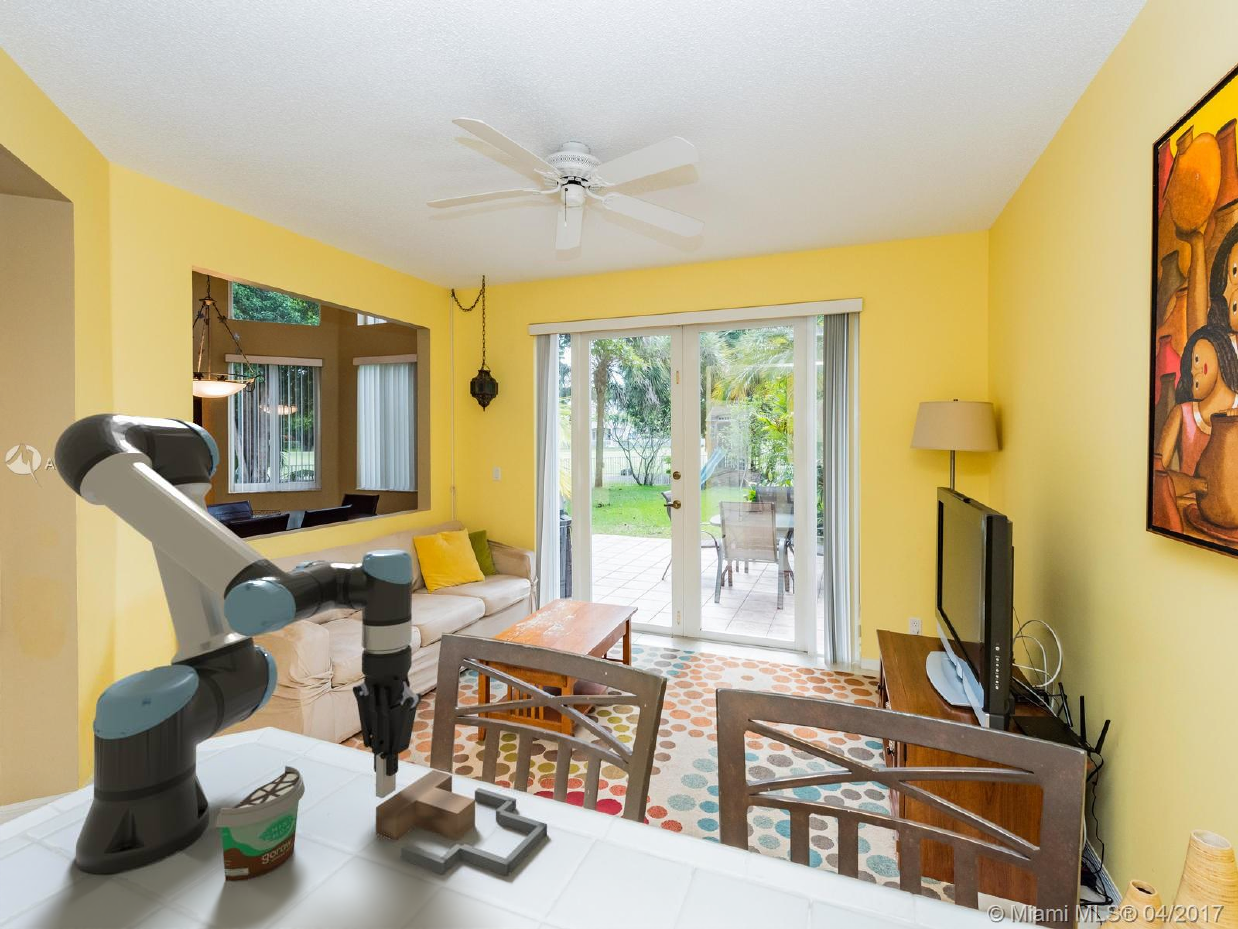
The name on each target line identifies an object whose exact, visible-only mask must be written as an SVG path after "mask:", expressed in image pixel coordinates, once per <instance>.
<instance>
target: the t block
mask: <svg viewBox="0 0 1238 929" xmlns="http://www.w3.org/2000/svg"><path fill="white" fill-rule="evenodd" d="M416 827H417V828H420V829H422V830H426V831H429V832H430V833H433V834H436V835H439V836H442V837H445V838H448V839H451V840H453V841H456V842H458V841H459V840H460V839H461V838H463V837H464V836H465V835H466V834H467V833H469V832H470V831H471V830H473V828H474V827H476V800H475V798H471V797H469V796H465V795H462V794H461V795H460V794H459V793H458V794H457V793H454V792H453V775H452V774H450V773H449V774H448V773H446V772H441V771H439V770H435V769H432V770H431V771H429V772H428V773H426V774H425V775H422V777H420V778H418V779H417V780H415V781H414V782H413V783H410V784H409V785H408V786H406V787H404V788H403V789H401V790H400V791H399V792H397V793H395V794H394V795H392V796H391V797H390V798H388V799H386V800H385V801H384V802H382V803H380V804H379V805H377V806H375V834H376V835H377V834H379V835H378V836H380V835H382V836H381V837H383V836H385V837H387V838H386V839H388V838H390V839H389V840H391V841H393V840H394V842H397V841H398V840H400V839H401V838H402V837H403V836H405V835H407V834H408V833H409V832H410V831H412V830H413V829H414V828H416ZM385 837H384V838H385ZM399 838H400V839H399Z"/></svg>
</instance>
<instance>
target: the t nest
mask: <svg viewBox="0 0 1238 929" xmlns="http://www.w3.org/2000/svg"><path fill="white" fill-rule="evenodd" d="M474 799H475V802H476V801H477V802H480V803H484V804H486V805H490V806H493V807H496V808H497V809H496V810H495V821H497V822H498V824H499V825H502V826H504V827H508V828H511V829H514V830H517V831H520V832H523V833H526V834H528V835H527V836H526V837H525V838H524V839H523V840H522V841H521V842H520V843H519V844H518V845H517V846H516V847H515V848H514V849H513V850H512V851H511V852H510V853H508V855H507V856H506V857H502V856H500V855H497V854H495V853H491V852H488V851H487V850H486V851H485V850H482V849H481V848H477V847H474V846H472V845H470V844H469V845H468V844H466V843H464V844H463V845H460V844H458V843H455V845H454V846H453V847H452V848H450V849H449V850H448V851H447V852H446V853H445V854H443V855H442V856H441V855H438V854H436V853H433V852H431V851H428V850H425V849H423V848H419V847H418V846H414V845H412V844H409V843H405V844H403V845H402V846H401V847H400V859H402V860H404V861H407V862H410V863H411V864H414V865H417V866H419V867H422V868H424V869H427V870H430V871H433V872H435V873H438V874H440V875H444V874H445V873H446V872H447V871H448V870H449V869H451V867H452V866H454V865H455V864H456V863H457V862H458V861H459V860H462V861H463V862H464V861H465V862H467V863H470V864H472V865H475V866H478V867H481V868H484V869H486V870H489V871H491V872H494V873H497V874H499V875H502V876H506V877H508V876H509V875H510V874H511V873H512V872H513V870H515V868H517V866H518V865H519V864H521V862H522V861H523V860H524V859H525V858H526V857H527V856H528V855H529V854H530V853H531V852H532V851H533V850H534V849H535V848H536V846H538V844H539V843H541V841H542V840H543V839H544V838H545V837H546V835H548V823H544V822H542V821H538V820H535V819H532V818H528V817H526V816H522V815H520V814H515V813H513V812H514V811H515V810H517V798H514V797H511V796H508V795H505V794H502V793H497V792H494V791H490V790H487V789H483V788H480V787H478V788H477V789H475V790H474Z"/></svg>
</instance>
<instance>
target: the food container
mask: <svg viewBox="0 0 1238 929" xmlns="http://www.w3.org/2000/svg"><path fill="white" fill-rule="evenodd" d="M305 789H306V788H305V784H304V779H303V776H302V775H301V773H300V771H299V770H298V769H296V768H295V767H293V766H290V765H289V766H288V765H285V767H284V773H282V774H281V775H279V776H278V777H277V778H275V779H274V780H271V782H268V783H266V784H264V785H262V786H259V787H258V788H256V789H255V790H253V791H252V792H251V793H250V794H248V796H246V797H245V798H243V799H242V801H240V802H238V804H236V805H235V806H233V807H232V808H223V807H222V808H219V814H218V815H217V821H216V827H217V828H220V830H221V833H220V834H221V843H222V852H223V853H222V856H223V867H224V868H223V869H224V880H225V882H242V881H247V880H248V879H249V880H252V879H257V878H259V877H262V876H264V875H266V874H268V873H271V872H273V871H275V870H276V869H278V868H280V867H282V866H283V865H285V863H286V862H287V861H289V859H290V858H291V856H292V855H293V853H294V850H295V840H296V832H297V831H296V830H297V822H298V812H299V803H300V800H301V799H302V797H303V796H304V794H305Z"/></svg>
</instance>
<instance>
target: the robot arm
mask: <svg viewBox="0 0 1238 929" xmlns="http://www.w3.org/2000/svg"><path fill="white" fill-rule="evenodd" d="M219 452H220V451H219V448H218V444H217V443H216V441H215V439H214V437H213V436H212V435H211V434H210V433H209V432H208V431H207V430H206V429H205V428H203V427H201V426H199V425H198V424H197V423H196V424H195V423H193V422H190V421H185V420H182V419H178V418H169V417H165V418H159V417H158V418H157V417H151V416H150V417H148V416H139V415H138V416H136V415H126V414H119V413H118V414H117V413H100V414H94V415H89V416H86V417H82V418H81V419H78V420H77V421H76V422H73V423H72V424H70V425H69V426H68V427H67V428H66V429H65V430H64V431H63V432H62V433H61V434H60V436H59V437H58V440H57V442H56V444H55V448H54V454H53V455H54V456H53V457H54V464H55V467H56V470H57V471H58V474H59V476H60V477H61V479H62V480H63V481H64V483H65V484H66V485H67V486H68V487H69V489H71V490H72V491H73V492H74V493H75V494H76V495H78V496H79V497H80V498H81V499H83V500H85V501H86V502H87V503H88V504H91V505H93V506H94V505H95V506H105V507H106V508H107V509H109V510H110V511H112V513H113V514H114V515H115V514H116V516H118V517H119V518H120V519H122V520H123V521H124V522H125V523H126V524H128V525H129V526H130V527H131V528H132V529H133V530H135V531H136V532H137V533H139V534H140V535H141V536H143V537H144V538H145V539H146V540H148V541H149V542H150V543H151V545H152V549H153V554H154V558H155V561H156V564H157V568H158V571H159V572H158V573H159V575H160V579H161V584H162V587H163V591H164V596H165V599H166V602H167V605H168V610H169V614H170V618H171V622H172V626H173V628H174V633H175V637H176V640H177V641H176V642H177V644H178V650H177V651H176V653H175V654H174V655H173V657H172V658H171V659H170V664H169V665H163V666H156V667H153V668H152V669H150V670H141V671H138V672H136V673H133V674H130V675H128V676H125V677H124V678H121V679H119V680H118V681H116V682H114V683H113V684H111V685H109V686H108V687H106V689H105V690H103V692H102V693H101V694H100V695H99V697H98V699H97V701H96V706H95V717H94V719H93V723H92V730H93V734H94V735H93V744H94V745H93V747H94V748H93V752H94V753H93V756H94V757H93V759H94V760H93V761H94V762H93V763H94V764H93V798H92V803H91V806H90V807H89V810H88V812H87V816H86V818H85V820H84V823H83V825H82V828H81V831H80V833H79V836H78V837H77V841H76V845H75V864H76V866H77V868H78V869H80V871H83V872H85V873H90V874H99V875H100V874H101V875H103V874H114V873H120V872H121V873H122V872H125V871H126V872H127V871H130V870H134V869H135V870H136V869H139V868H142V867H144V866H149V865H151V864H154V863H156V862H159V861H161V860H163V859H164V860H165V859H166V858H168V857H170V856H173V855H174V854H176V853H178V852H180V851H182V850H183V849H185V848H187V847H188V846H189V845H191V844H192V843H194V842H195V841H196V840H197V839H198V838H200V837H201V836H202V835H203V833H204V832H205V831H206V829H207V828H208V826H209V824H210V805H209V801H208V799H207V797H206V794H205V792H204V789H203V786H202V784H201V781H200V780H199V778H198V775H197V746H198V745H199V744H201V743H202V742H203V743H204V742H205V741H206V740H209V739H211V738H212V737H214V736H216V735H217V734H219V733H222V731H224V730H226V729H228V728H231V727H232V726H234V725H236V724H238V723H241V722H244V721H247V719H249V718H251V716H253V715H254V714H255V713H257V712H259V711H260V710H261V709H263V708H264V707H265V706H266V705H267V704H268V703H269V702H270V700H271V698H272V696H273V694H274V693H275V691H276V689H277V686H278V679H279V676H278V673H279V671H278V667H277V666H278V665H277V664H276V660H275V658H274V657H273V655H272V653H270V651H266V648H264V647H262V646H260V645H257V644H255V642H254V639H253V637H257V636H261V635H265V634H268V633H274V632H277V631H280V630H282V629H284V628H286V627H287V626H291V625H292V624H294V623H297V622H300V621H302V620H305V619H308V618H311V617H315V616H316V615H320V614H322V613H324V612H325V613H326V612H328V611H330V610H353V611H354V610H356V611H357V610H358V611H359V610H361V617H362V618H361V619H362V621H361V622H362V626H361V647H362V648H363V651H362V652H361V673H362V674H363V675H364V678H363V679H364V680H363V681H362V683H360V684H357V685H355V686H353V687H352V692H353V694H354V697H355V700H356V703H357V708H358V711H357V712H358V715H359V722H360V723H359V724H360V728H361V729H360V730H361V735H362V740H363V741H362V743H363V746H364V747H365V748H370V749H371V752H372V754H373V770H374V773H375V797H377V798H380V799H384V798H385V797H387V796H389V795H390V794H392V793H393V792H395V791H396V790H397V789H396V788H397V787H396V786H397V785H396V784H397V782H396V780H397V777H396V776H397V775H396V774H397V773H398V771H399V754H401V753H403V752H405V751H406V750H408V749H409V748H410V743H411V738H412V734H413V728H414V723H415V718H416V713H417V709H418V706H419V704H420V702H421V701H422V698H423V696H422V694H421V693H420V692H417V693H414V692H413V690H412V689H411V688H410V687H411V683H410V680H409V675H408V674H409V672H410V669H411V668H412V661H413V660H412V657H413V655H412V654H413V653H412V651H413V650H412V648H413V647H412V646H411V643H412V632H413V631H412V629H413V626H412V623H413V621H412V619H413V617H412V605H413V604H412V600H413V580H414V575H413V562H412V556H411V554H410V553H409V552H408V551H407V550H403V549H380V550H379V549H378V550H373V551H372V550H371V551H367V552H365V553H364V554H363V556H362V561H361V562H346V561H345V562H344V561H326V560H317V561H304V562H301V563H298V564H297V565H296V566H295V567H294V568H293V569H291V570H290V571H285V570H282V569H281V568H280V567H278V566H277V565H275V564H274V563H273V562H271V561H270V560H269V559H268V558H266V556H264V555H262V554H261V553H260V552H259V551H257V550H256V549H255V548H253V546H252V545H250V544H248V543H247V542H246V541H244V540H243V539H242V538H241V537H239V535H237V534H235V532H233V531H232V530H231V529H229V528H228V527H227V526H225V525H224V524H223V523H222V522H221V521H219V520H218V519H217V518H215V517H214V516H212V514H210V512H209V510H208V508H207V504H206V500H205V497H206V495H207V494H208V493H209V491H210V490H211V489H212V484H211V483H212V482H211V479H212V477H213V476H214V475H215V474H216V471H217V468H216V467H217V466H218V465H219V463H220V454H219Z"/></svg>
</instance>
